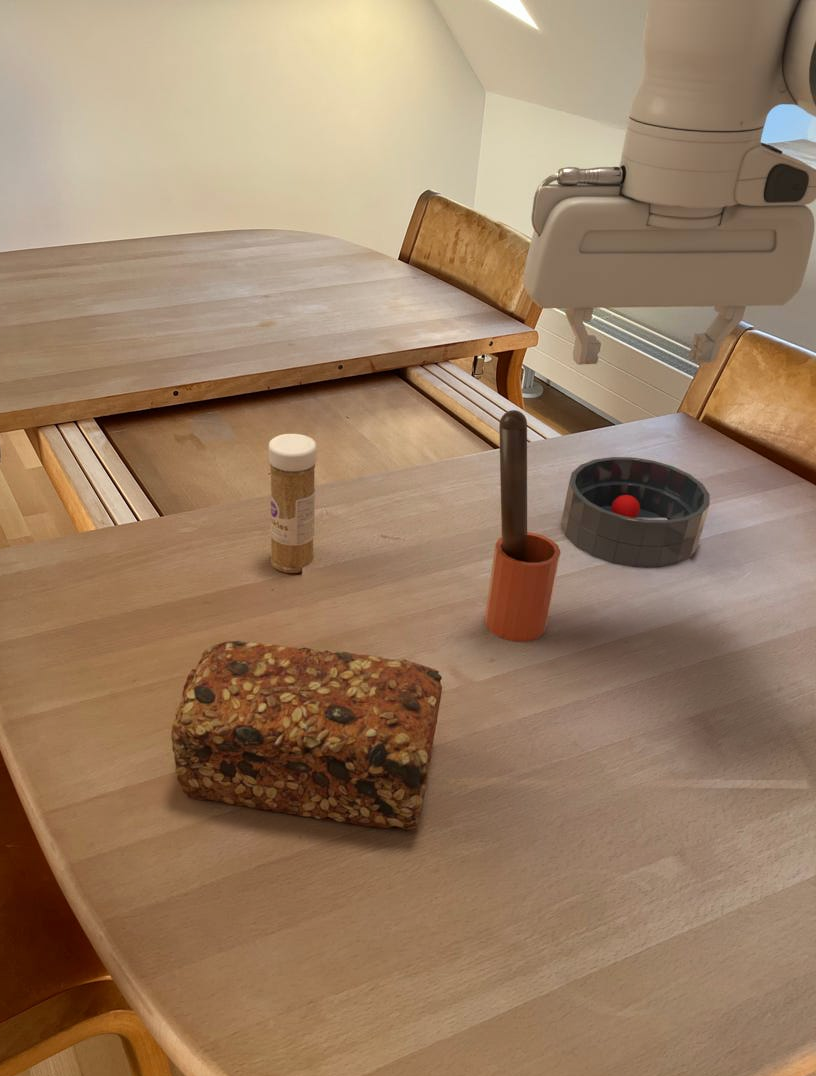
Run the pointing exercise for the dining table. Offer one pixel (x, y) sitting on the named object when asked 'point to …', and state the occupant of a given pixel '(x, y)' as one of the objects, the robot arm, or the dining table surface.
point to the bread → (308, 732)
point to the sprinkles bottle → (292, 501)
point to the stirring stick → (513, 484)
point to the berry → (626, 506)
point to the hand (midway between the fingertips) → (643, 361)
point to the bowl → (635, 538)
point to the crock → (522, 590)
